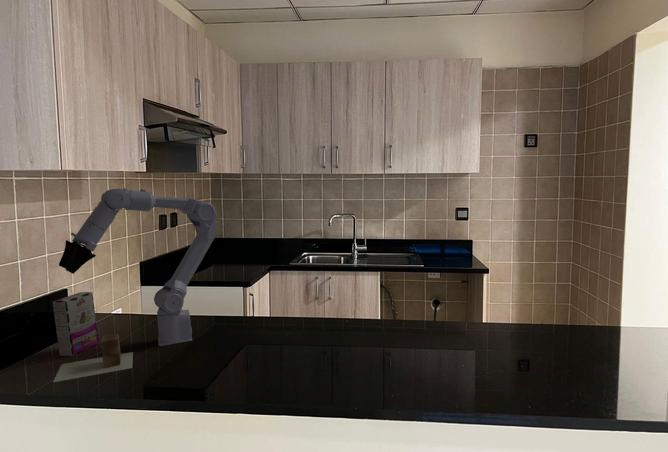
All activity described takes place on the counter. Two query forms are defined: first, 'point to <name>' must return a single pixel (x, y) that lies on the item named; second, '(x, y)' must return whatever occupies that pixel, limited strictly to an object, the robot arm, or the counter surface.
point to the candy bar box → (75, 323)
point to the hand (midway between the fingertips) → (65, 269)
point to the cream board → (91, 367)
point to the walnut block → (111, 350)
